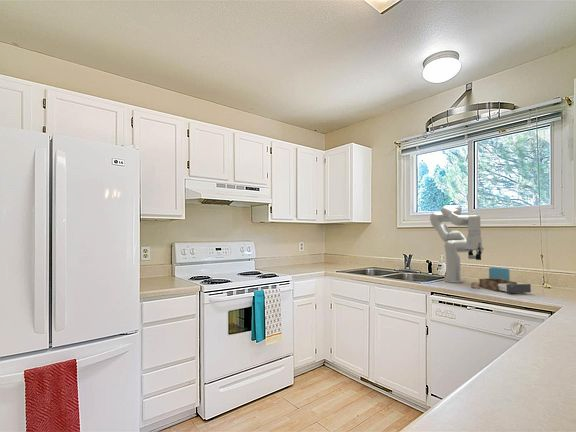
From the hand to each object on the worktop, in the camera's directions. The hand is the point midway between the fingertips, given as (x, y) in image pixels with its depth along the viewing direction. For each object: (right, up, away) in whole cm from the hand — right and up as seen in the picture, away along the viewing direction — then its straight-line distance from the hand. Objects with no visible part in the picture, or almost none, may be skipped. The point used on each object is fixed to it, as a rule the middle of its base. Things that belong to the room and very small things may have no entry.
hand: (474, 259), depth 211 cm
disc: (0, 0, 0) cm, 0 cm away
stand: (0, -20, -1) cm, 20 cm away
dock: (+13, -19, -5) cm, 24 cm away
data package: (+26, -20, +13) cm, 35 cm away
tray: (+14, -18, -13) cm, 26 cm away
